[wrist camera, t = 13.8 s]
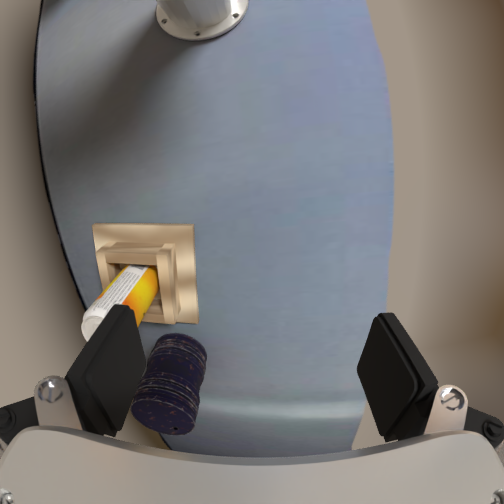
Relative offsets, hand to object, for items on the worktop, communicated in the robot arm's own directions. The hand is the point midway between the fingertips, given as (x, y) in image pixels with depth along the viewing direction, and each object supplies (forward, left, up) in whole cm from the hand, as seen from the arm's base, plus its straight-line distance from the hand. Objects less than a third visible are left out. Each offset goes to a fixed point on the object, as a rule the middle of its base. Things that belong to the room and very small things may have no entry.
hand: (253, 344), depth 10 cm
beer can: (+12, -16, -27) cm, 34 cm away
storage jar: (+28, -12, -28) cm, 42 cm away
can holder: (+12, -16, -28) cm, 35 cm away
